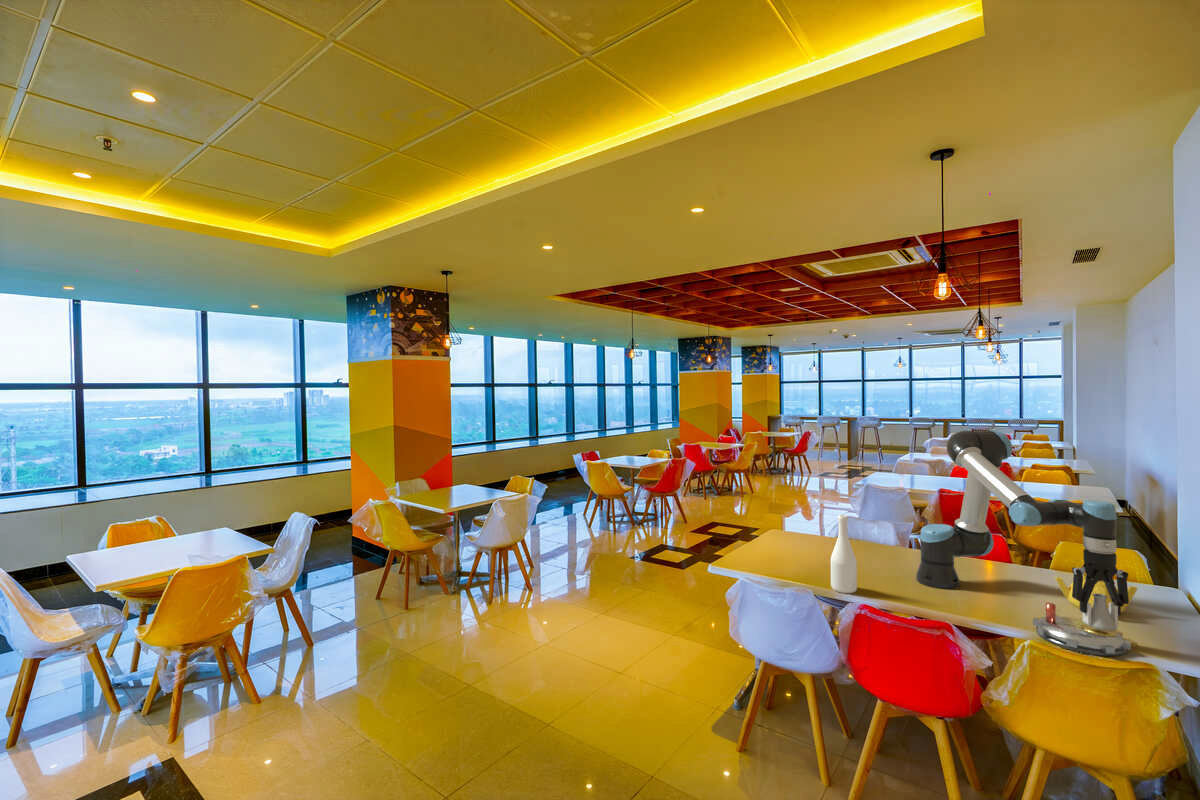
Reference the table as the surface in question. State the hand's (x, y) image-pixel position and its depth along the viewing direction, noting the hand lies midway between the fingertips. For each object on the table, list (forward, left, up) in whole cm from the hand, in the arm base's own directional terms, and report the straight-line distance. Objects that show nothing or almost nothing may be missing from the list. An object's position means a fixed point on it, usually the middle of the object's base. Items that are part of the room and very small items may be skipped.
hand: (1100, 623), depth 164 cm
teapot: (+16, +30, -6) cm, 34 cm away
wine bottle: (-68, +31, -6) cm, 75 cm away
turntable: (-5, 0, -4) cm, 7 cm away
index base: (-4, 0, -6) cm, 7 cm away
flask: (0, 0, -1) cm, 1 cm away
